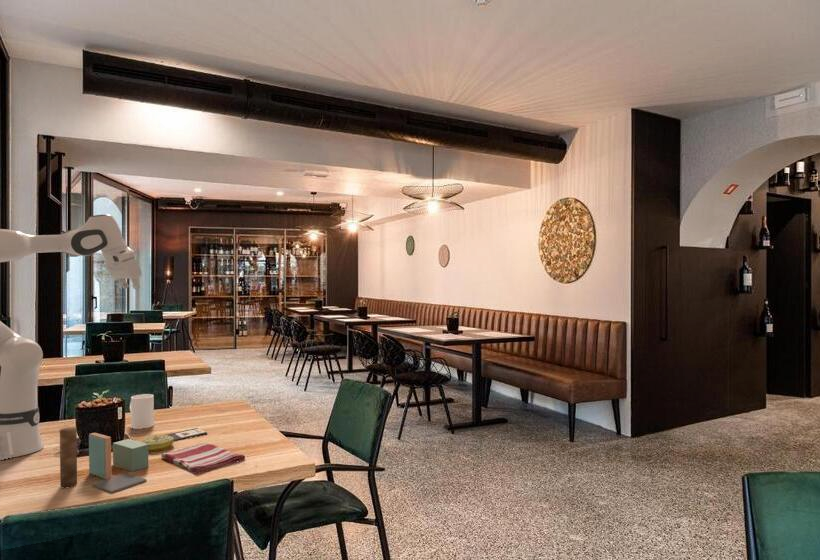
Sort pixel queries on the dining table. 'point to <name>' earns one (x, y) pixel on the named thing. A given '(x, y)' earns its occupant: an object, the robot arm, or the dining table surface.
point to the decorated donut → (158, 442)
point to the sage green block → (130, 455)
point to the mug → (142, 411)
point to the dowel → (68, 457)
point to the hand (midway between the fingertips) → (131, 288)
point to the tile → (100, 455)
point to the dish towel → (202, 457)
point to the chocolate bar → (187, 434)
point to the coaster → (119, 482)
